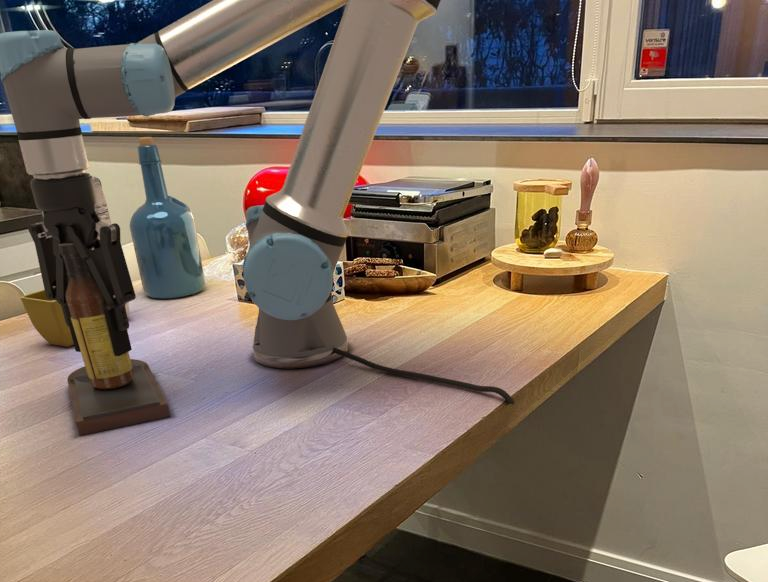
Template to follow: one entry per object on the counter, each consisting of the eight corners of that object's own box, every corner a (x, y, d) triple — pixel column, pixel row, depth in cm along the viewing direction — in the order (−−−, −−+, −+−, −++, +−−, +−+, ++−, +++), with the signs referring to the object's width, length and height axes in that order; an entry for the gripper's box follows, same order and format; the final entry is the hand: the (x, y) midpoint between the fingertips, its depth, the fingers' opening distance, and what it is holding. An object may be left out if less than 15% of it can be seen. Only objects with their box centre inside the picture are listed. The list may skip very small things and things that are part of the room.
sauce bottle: (144, 378, 114) (111, 236, 104) (114, 393, 109) (78, 246, 99) (109, 373, 116) (75, 235, 106) (79, 388, 111) (40, 245, 101)
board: (170, 416, 107) (166, 399, 106) (79, 435, 103) (74, 418, 102) (145, 365, 126) (142, 350, 125) (68, 380, 122) (64, 364, 121)
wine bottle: (174, 303, 159) (142, 141, 144) (131, 297, 166) (95, 141, 150) (221, 286, 169) (195, 133, 153) (178, 281, 175) (149, 134, 160)
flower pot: (65, 352, 135) (50, 301, 130) (33, 346, 139) (18, 296, 134) (105, 337, 141) (92, 287, 136) (73, 332, 145) (60, 283, 141)
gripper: (139, 169, 98) (175, 347, 109) (26, 170, 105) (70, 337, 117) (98, 178, 92) (140, 365, 104) (-19, 179, 99) (33, 353, 111)
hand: (103, 350), depth 110 cm, fingers closed on sauce bottle, 6 cm apart
